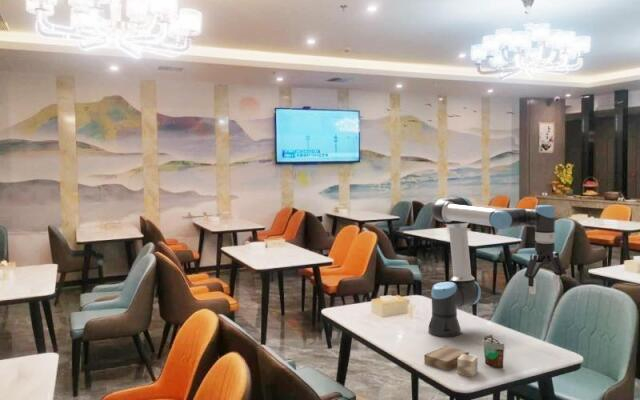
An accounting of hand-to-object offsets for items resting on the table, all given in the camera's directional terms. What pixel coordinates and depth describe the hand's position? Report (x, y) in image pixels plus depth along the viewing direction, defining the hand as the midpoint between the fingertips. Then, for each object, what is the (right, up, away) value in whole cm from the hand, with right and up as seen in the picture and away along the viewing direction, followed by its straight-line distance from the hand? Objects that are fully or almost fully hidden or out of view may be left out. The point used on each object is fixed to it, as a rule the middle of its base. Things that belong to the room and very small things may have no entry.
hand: (544, 292), depth 221 cm
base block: (-43, -28, -6) cm, 51 cm away
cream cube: (-37, -28, -18) cm, 50 cm away
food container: (-26, -28, -10) cm, 39 cm away
